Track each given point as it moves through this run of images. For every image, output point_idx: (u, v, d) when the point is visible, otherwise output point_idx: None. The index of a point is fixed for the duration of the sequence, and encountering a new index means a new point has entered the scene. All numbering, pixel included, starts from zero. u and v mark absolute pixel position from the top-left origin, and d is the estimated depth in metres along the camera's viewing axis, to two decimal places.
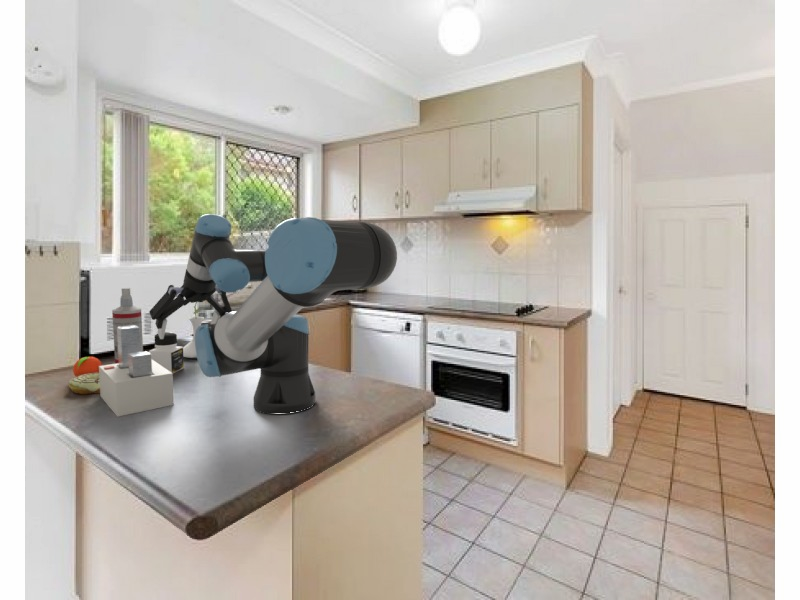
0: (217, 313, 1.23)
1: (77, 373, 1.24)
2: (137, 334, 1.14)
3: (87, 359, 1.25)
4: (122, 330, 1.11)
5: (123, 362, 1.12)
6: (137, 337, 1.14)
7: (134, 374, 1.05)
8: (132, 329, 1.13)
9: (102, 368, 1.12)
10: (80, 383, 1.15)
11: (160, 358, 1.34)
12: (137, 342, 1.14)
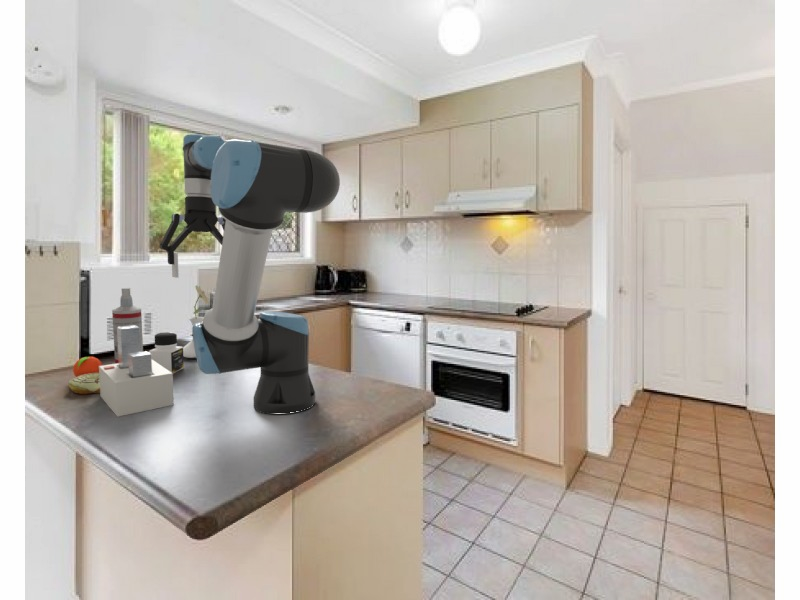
0: None
1: (77, 373, 1.24)
2: (137, 334, 1.14)
3: (87, 359, 1.25)
4: (122, 330, 1.11)
5: (123, 362, 1.12)
6: (137, 337, 1.14)
7: (134, 374, 1.05)
8: (132, 329, 1.13)
9: (102, 368, 1.12)
10: (80, 383, 1.15)
11: (160, 358, 1.34)
12: (137, 342, 1.14)
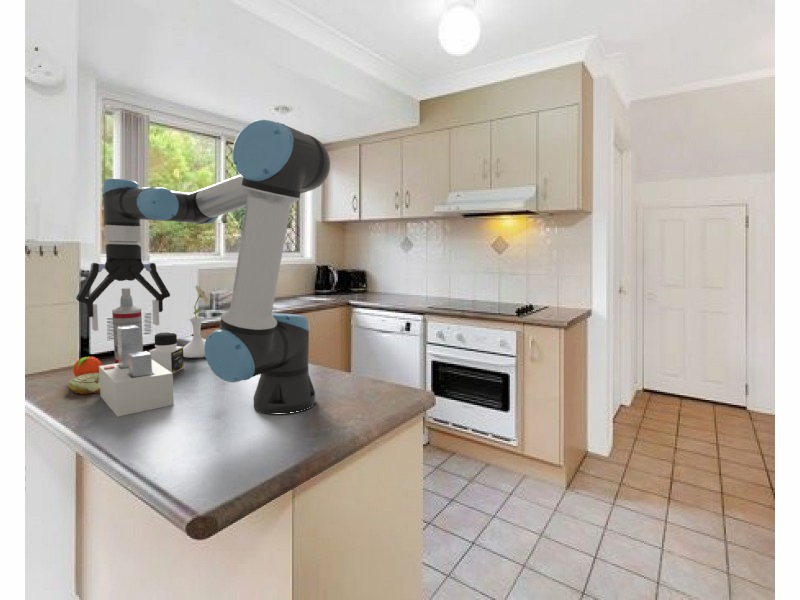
0: (155, 300, 1.18)
1: (77, 373, 1.24)
2: (137, 334, 1.14)
3: (87, 359, 1.25)
4: (122, 330, 1.11)
5: (123, 362, 1.12)
6: (137, 337, 1.14)
7: (134, 374, 1.05)
8: (132, 329, 1.13)
9: (102, 368, 1.12)
10: (80, 383, 1.15)
11: (160, 358, 1.34)
12: (137, 342, 1.14)
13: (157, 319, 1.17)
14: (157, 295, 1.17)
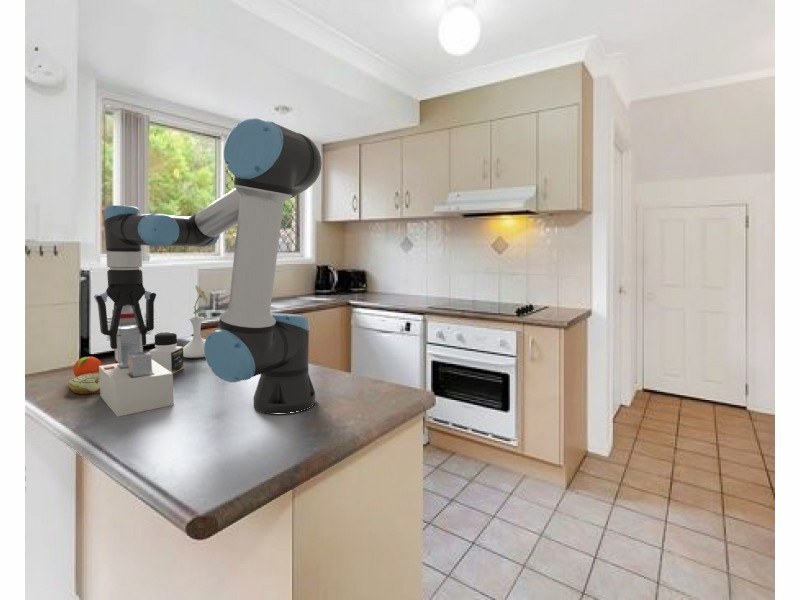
0: None
1: (77, 373, 1.24)
2: (137, 334, 1.14)
3: (87, 359, 1.25)
4: (122, 330, 1.11)
5: (123, 362, 1.12)
6: (137, 337, 1.14)
7: (134, 374, 1.05)
8: (132, 329, 1.13)
9: (102, 368, 1.12)
10: (80, 383, 1.15)
11: (160, 358, 1.34)
12: (137, 342, 1.14)
13: None
14: (142, 327, 1.15)
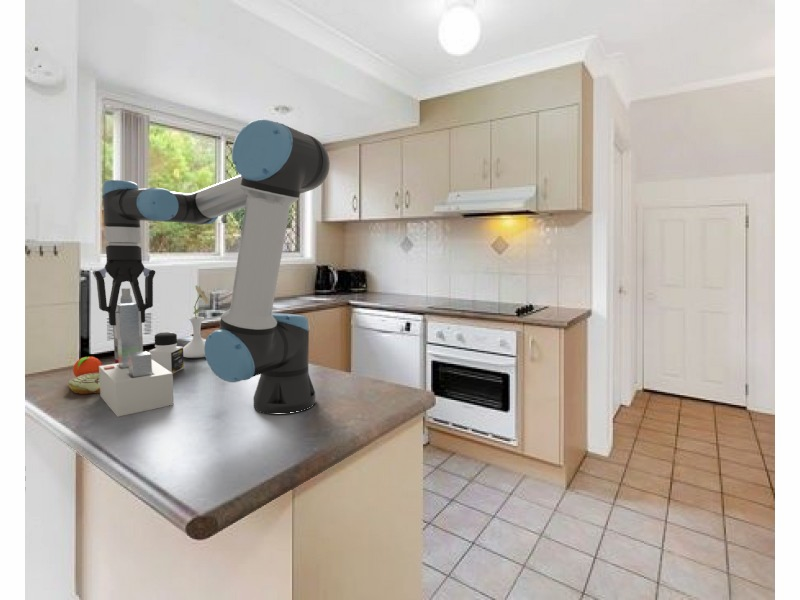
0: None
1: (77, 373, 1.24)
2: (136, 311, 1.13)
3: (87, 359, 1.25)
4: (121, 306, 1.11)
5: (122, 339, 1.11)
6: (136, 314, 1.13)
7: (134, 374, 1.05)
8: (131, 306, 1.12)
9: (102, 368, 1.12)
10: (80, 383, 1.15)
11: (160, 358, 1.34)
12: (136, 319, 1.13)
13: (139, 330, 1.15)
14: (141, 304, 1.14)
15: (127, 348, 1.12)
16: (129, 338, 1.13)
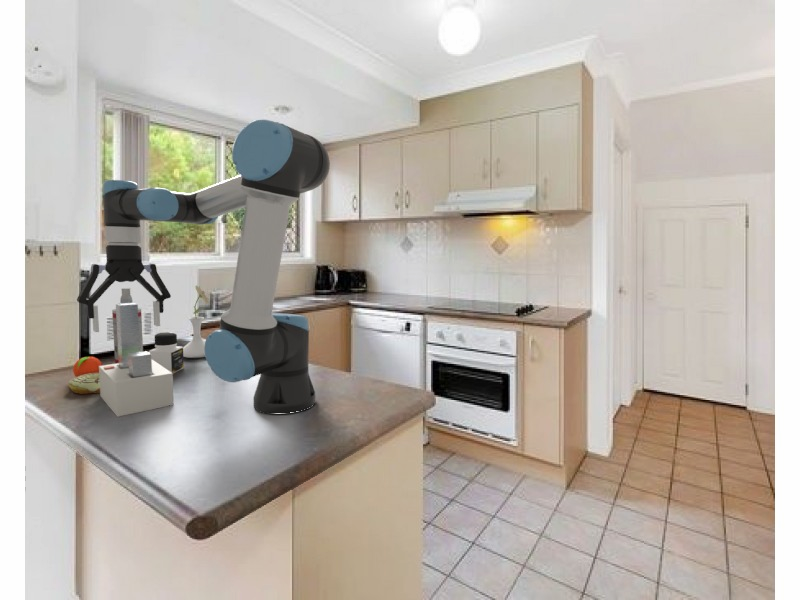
0: (156, 301, 1.18)
1: (77, 373, 1.24)
2: (136, 311, 1.13)
3: (87, 359, 1.25)
4: (121, 306, 1.11)
5: (122, 339, 1.11)
6: (136, 314, 1.13)
7: (134, 374, 1.05)
8: (131, 306, 1.12)
9: (102, 368, 1.12)
10: (80, 383, 1.15)
11: (160, 358, 1.34)
12: (136, 319, 1.13)
13: (158, 320, 1.17)
14: (158, 296, 1.17)
15: (127, 348, 1.12)
16: (129, 338, 1.13)
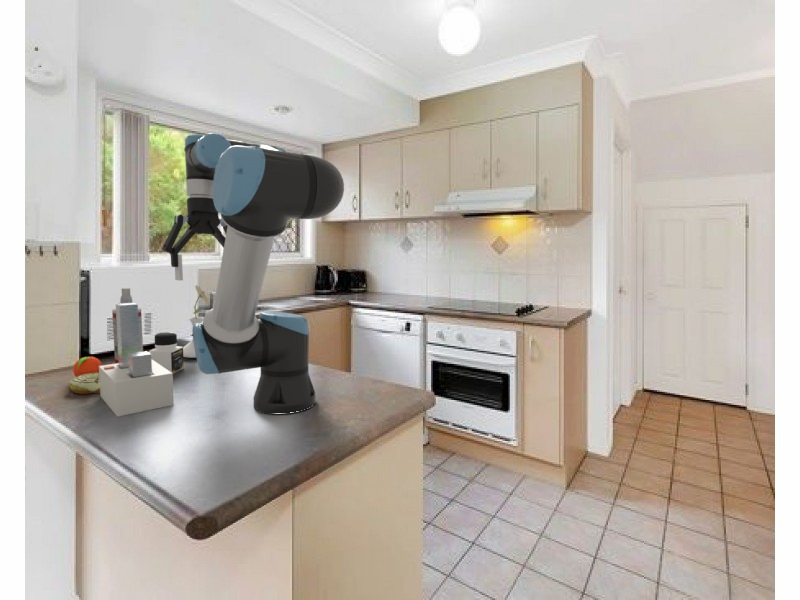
0: None
1: (77, 373, 1.24)
2: (136, 311, 1.13)
3: (87, 359, 1.25)
4: (121, 306, 1.11)
5: (122, 339, 1.11)
6: (136, 314, 1.13)
7: (134, 374, 1.05)
8: (131, 306, 1.12)
9: (102, 368, 1.12)
10: (80, 383, 1.15)
11: (160, 358, 1.34)
12: (136, 319, 1.13)
13: None
14: None
15: (127, 348, 1.12)
16: (129, 338, 1.13)
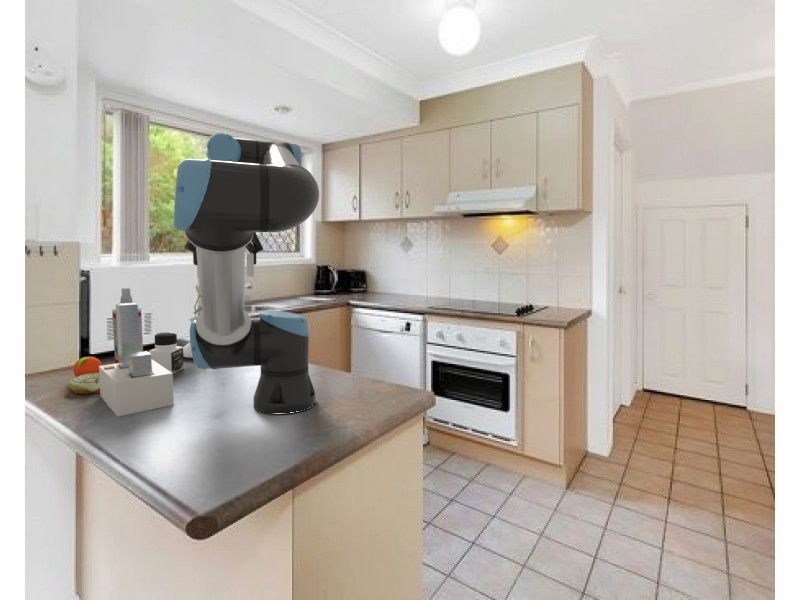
0: (250, 253, 1.25)
1: (77, 373, 1.24)
2: (136, 311, 1.13)
3: (87, 359, 1.25)
4: (121, 306, 1.11)
5: (122, 339, 1.11)
6: (136, 314, 1.13)
7: (134, 374, 1.05)
8: (131, 306, 1.12)
9: (102, 368, 1.12)
10: (80, 383, 1.15)
11: (160, 358, 1.34)
12: (136, 319, 1.13)
13: (252, 271, 1.25)
14: (252, 248, 1.24)
15: (127, 348, 1.12)
16: (129, 338, 1.13)
